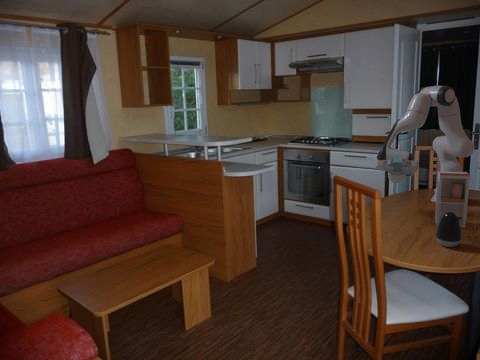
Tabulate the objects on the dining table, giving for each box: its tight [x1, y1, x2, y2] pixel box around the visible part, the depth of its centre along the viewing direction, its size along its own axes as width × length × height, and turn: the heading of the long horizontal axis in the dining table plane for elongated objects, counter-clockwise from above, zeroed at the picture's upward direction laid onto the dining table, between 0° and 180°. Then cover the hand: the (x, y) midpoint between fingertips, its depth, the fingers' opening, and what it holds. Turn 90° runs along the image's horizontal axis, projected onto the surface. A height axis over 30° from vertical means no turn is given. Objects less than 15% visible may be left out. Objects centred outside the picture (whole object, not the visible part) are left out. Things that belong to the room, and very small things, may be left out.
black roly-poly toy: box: [435, 212, 463, 248], centre depth 180 cm, size 10×10×15 cm
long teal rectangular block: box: [393, 155, 403, 172], centre depth 200 cm, size 4×19×4 cm, turn 160°
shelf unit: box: [434, 170, 471, 229], centre depth 205 cm, size 9×13×27 cm
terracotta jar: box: [451, 183, 463, 199], centre depth 203 cm, size 5×5×8 cm
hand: (397, 160), depth 205 cm, fingers closed on long teal rectangular block, 4 cm apart
